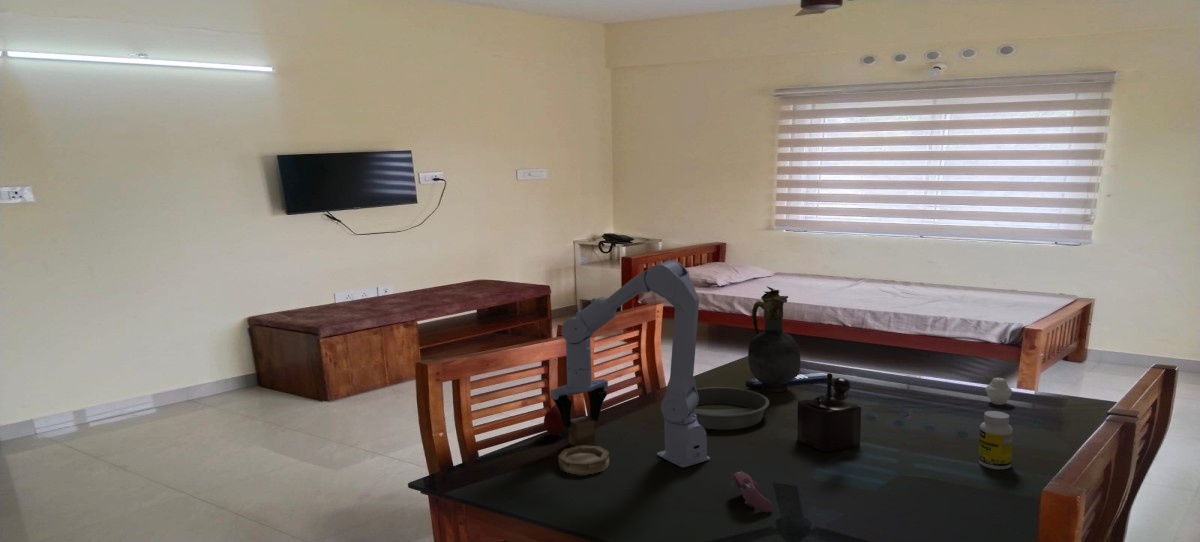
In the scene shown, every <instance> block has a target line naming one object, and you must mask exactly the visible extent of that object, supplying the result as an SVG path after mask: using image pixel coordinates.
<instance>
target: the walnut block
mask: <svg viewBox="0 0 1200 542" xmlns="http://www.w3.org/2000/svg"><path fill="white" fill-rule="evenodd" d="M570 419H571V425H570V427H568V428H567V429H568V444H569V443H570V444H572V445H574V446H581V445H587V446H590V445H594V444H595V445H596V437H595V436H596V434H595V430H596V429H595V420H593V419H591V418H588V417H587V416H584V415H583V416H580V417H576V418H570ZM570 444H569V445H570Z"/></svg>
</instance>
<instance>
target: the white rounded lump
mask: <svg viewBox="0 0 1200 542" xmlns="http://www.w3.org/2000/svg"><path fill="white" fill-rule="evenodd" d="M985 392H986V395H987V396H988V399H989V400H990V402H991V404H993V405H999V406H1002V405H1003V406H1004V405H1005V404H1006V403H1007V402H1008V401H1009V399H1010V397H1011V395H1012V394H1013V390H1012V388H1011V387H1010V386H1009V384H1008V381H1007V380H1006V379H1005V378H1002V377H994V378H992V379H991V382H990V383H989V384H988V385H986V387H985Z"/></svg>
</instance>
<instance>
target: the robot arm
mask: <svg viewBox="0 0 1200 542" xmlns="http://www.w3.org/2000/svg"><path fill="white" fill-rule="evenodd" d="M649 292H652V293H654V294H656V295H657V296H659V297H662V298H664V299H666V300H667V301H668V303H670V304H671V305H672V306H673V307H674V316H673V318H674V319H673V333H672V345H671V348H672V349H671V358H670V359H671V360H670V377H669V379H668V381H667V382H668V383H667V384H666V385H667V386H666V388H665V396H664V398H663V399H662V400H661V402H660V411H661V414H662V416H663V420H664V423H663V424H664V425H663V426H664V429H663V430H664V450H662V451H659V452H657V453H656V455H657V456H659V457H660V458H662V459H664V460H666V461H668V462H670V463H672V464H674V465H676V466H678V467H680V468H682V469H683V468H688V467H689V466H693V465H696V464H700V463H703V462H706V461H710V459H711V457H710V456H709V455H708V441H707V440H708V434H707V431H706V428H703V427H702V426H701V425H700V424H699V423H698V421H697V415H696V413H695V411H694V408H695V409H696V407H697V406H699V405H698V402H699V396H698V393H697V390H696V389H697V381H696V379H695V377H694V373H695V372H694V371H695V357H696V345H697V332H698V320H699V319H698V318H699V308H700V307H699V306H700V298H699V295H698V293H697V290H696V289H695V286H694V284H693V282H692V280H691V278H690V273H689V270H688V269H687V268H685V266H684V265H683V264H682V263H680V262H679V261H678V260H676V259H675V260H674V259H668V260H664V261H663V262H661V263H658V264H655V265H652V266H651V267H650V268H649V269H646V270H644V271H641V272H640V273H639V274H636V275H635V276H634V277H632V278H631V279H630V280H628V281H627V282H626V283H625V284H624V285H622V286H621V287H620V288H619V289H618V290H616V291H615V292H614V293H612V294H611V295H610V296H608V297H605V296H599V297H593V298H592V299H590V304H589V305H587V306H586V307H584V309H582V310H581V309H579V310H577V311H576V312H575V315H576V316H573V317H569V318H567V319H566V320H565V322H563V324H562V326H561V335H562V338H563V339H564V340H565V349H566V351H565V355H566V374H567V375H566V378H567V379H566V380H567V382H566V383H567V384H565V385H561V386H559V387H557V388H552V389H550V398H551V399H552V400H553V402H554V404H556V405H557V407H558V409H559V412H560V414H561V417H562V421H563V425H564V426H565V427H566V428H567V429H568V427H570V425H571V419H572V418H571V411H572V405H573V400H570V399H569V396H575V395H578V394H583V393H587V395H588V399H589V406H590V407H589V409H590V412H589V413H590V419H591V420H593V421H594V422H597V421H599V417H600V412H601V409H602V406H603V403H604V402H605V399H606V397H607V396H608V392H607V391H606V390H607V389H609V381H608V380H606V379H605V378H604V379H601V378H600V379H595V380H593V379H592V378H593V377H592V351H591V348H592V347H591V337H592V336H593V334H594V333H595V332H597V331H598V330H599V329H600V328H602V327H603V326H604V325H605V326H606V324H608V323H609V322H610V321H611V320H614V318H615V317H616V313H617V309H618V308H620V307H621V306H624V305H625V304H626V303H627V302H628V301H630V300H632V299H633V298H634V297H636V296H637V295H639V294H640V293H649Z"/></svg>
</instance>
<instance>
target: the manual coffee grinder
mask: <svg viewBox="0 0 1200 542" xmlns="http://www.w3.org/2000/svg"><path fill="white" fill-rule="evenodd" d="M833 377H834V376H833V374H832V373H831V372H828V373H827V375H826V380H825V383H827V391H826V394H821V395H818V396H816V397H814V398H809V399H804V400H802V399H801V400H798V401H797V438H796V439H797V440H798V441H799V440H800V442H801V441H802V443H803V442H804V443H803V444H805V445H807V446H808V445H809V447H810V448H813V447H814V448H813V449H815V450H817V451H820V452H824V453H833V452H834V453H836V452H839V451H840V450H841V451H844V450H849V448H850V449H853V447H854V448H857V447H859V445H860V446H861V430H862V429H861V428H862V427H861V426H862V425H861V424H862V423H861V421H862V407H861V406H859V405H856V404H855V403H852V402H849V401H846V399H848V398H849V397H848V396H849V394H848V392H849V390H851V386H852V385H851V382H850V380H849V379H847V378H844V377H837V378H834V379H832V378H833ZM832 387H833V389H834V392H833V393H832ZM856 446H857V447H856ZM835 451H836V452H835ZM841 451H840V452H841Z"/></svg>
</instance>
